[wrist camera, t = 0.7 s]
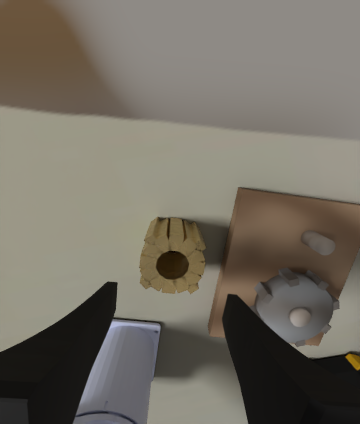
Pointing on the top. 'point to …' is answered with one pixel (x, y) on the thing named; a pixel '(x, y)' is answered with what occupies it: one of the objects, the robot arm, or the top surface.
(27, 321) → the top surface
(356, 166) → the top surface
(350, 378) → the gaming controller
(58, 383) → the robot arm
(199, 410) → the top surface
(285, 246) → the gear board
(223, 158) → the top surface
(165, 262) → the wooden gear
